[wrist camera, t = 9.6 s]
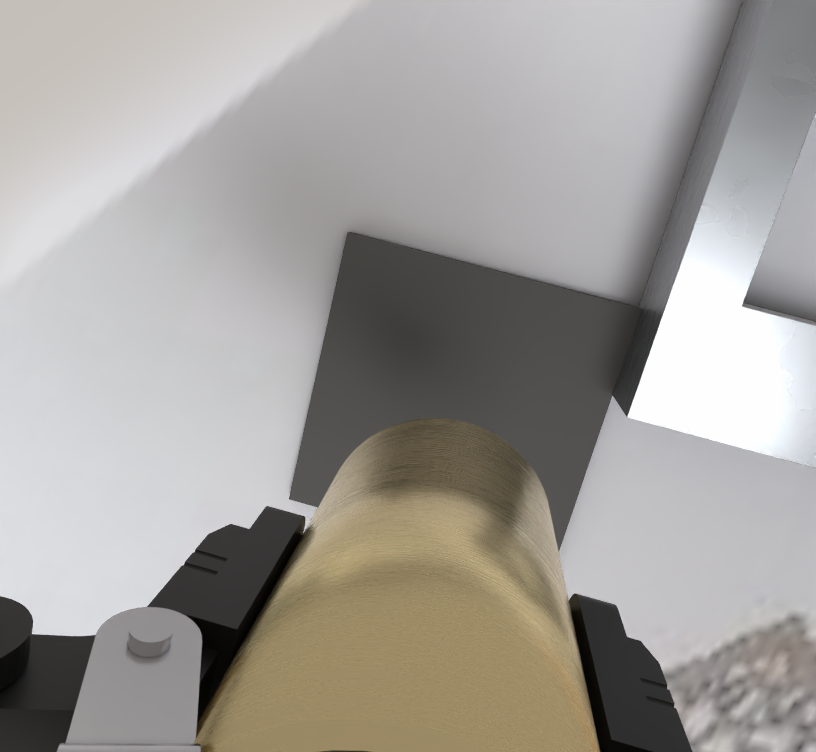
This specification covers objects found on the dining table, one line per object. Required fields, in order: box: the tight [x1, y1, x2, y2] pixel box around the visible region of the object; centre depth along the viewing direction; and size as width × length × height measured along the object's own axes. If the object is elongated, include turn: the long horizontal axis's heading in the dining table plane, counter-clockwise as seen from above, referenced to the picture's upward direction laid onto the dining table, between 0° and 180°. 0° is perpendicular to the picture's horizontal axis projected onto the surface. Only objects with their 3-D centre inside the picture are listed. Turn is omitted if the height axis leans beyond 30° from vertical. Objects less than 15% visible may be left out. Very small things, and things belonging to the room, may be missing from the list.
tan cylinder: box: [194, 418, 600, 752], centre depth 11 cm, size 5×5×10 cm
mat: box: [289, 232, 641, 552], centre depth 24 cm, size 10×10×1 cm
